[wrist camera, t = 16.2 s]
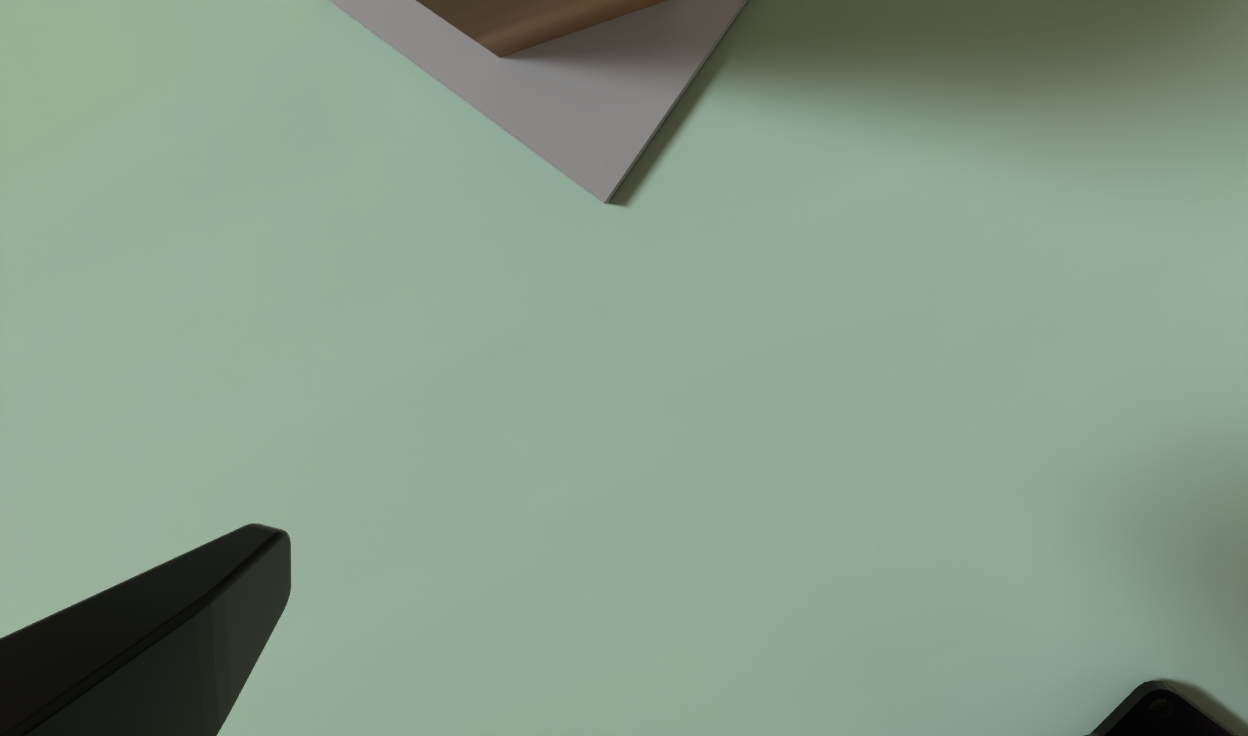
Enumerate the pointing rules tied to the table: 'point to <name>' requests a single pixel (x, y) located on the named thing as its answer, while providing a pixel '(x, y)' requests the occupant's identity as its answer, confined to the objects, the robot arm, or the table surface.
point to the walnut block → (527, 19)
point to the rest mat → (567, 78)
